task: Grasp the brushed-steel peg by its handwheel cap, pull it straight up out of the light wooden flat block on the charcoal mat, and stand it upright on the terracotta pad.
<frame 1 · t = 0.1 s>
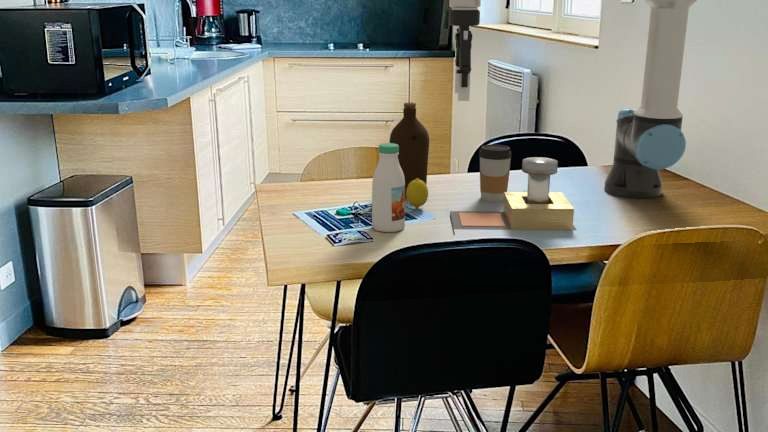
hand: (461, 96, 189), 28 cm above the table, fingers open, 13 cm apart
coffee cup: (493, 204, 197), on the table
milk bottle: (388, 228, 178), on the table
steel peg: (536, 220, 179), point 1 cm above the table, touching base mat
light wooden flat block: (536, 226, 179), resting on base mat
lemon: (416, 209, 193), on the table
base mat: (510, 226, 179), on the table
olive oil: (408, 195, 206), on the table
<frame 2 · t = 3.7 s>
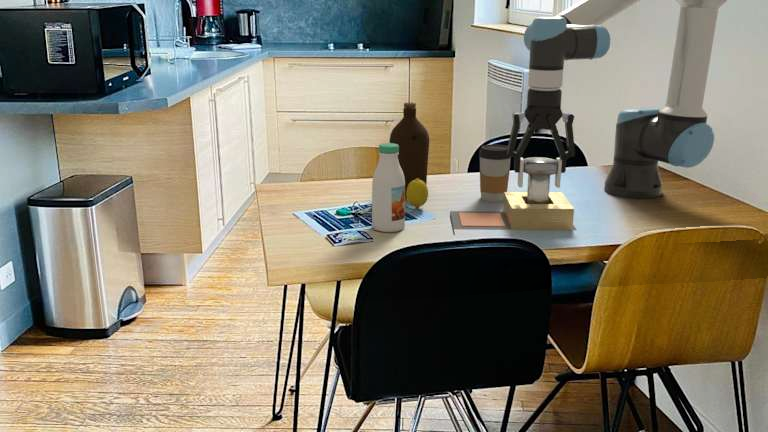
hand: (538, 185, 176), 10 cm above the table, fingers closed on steel peg, 8 cm apart
steel peg: (536, 220, 179), point 1 cm above the table, touching base mat, gripper
everything else where it was.
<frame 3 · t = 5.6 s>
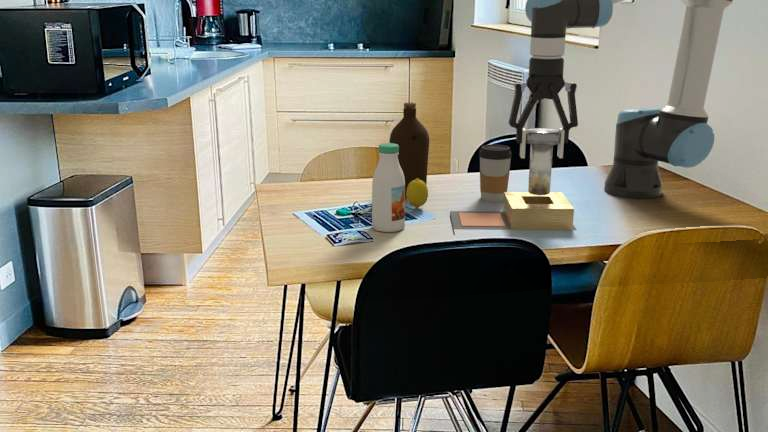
hand: (541, 156, 174), 17 cm above the table, fingers closed on steel peg, 8 cm apart
steel peg: (539, 192, 177), point 8 cm above the table, touching gripper
everything else where it was.
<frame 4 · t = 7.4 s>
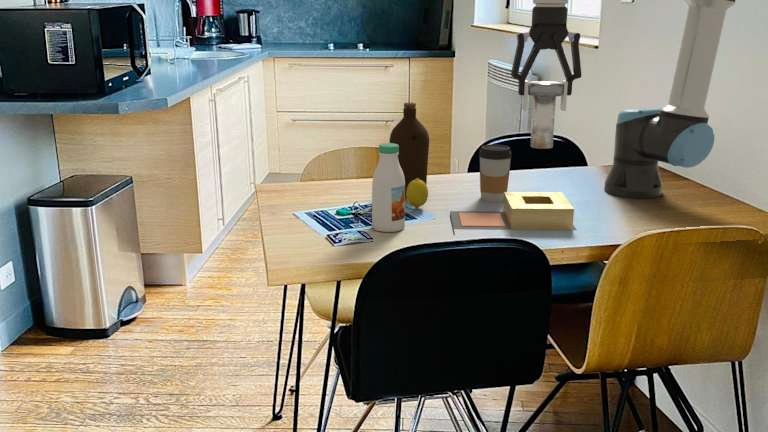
hand: (543, 109, 171), 28 cm above the table, fingers closed on steel peg, 8 cm apart
steel peg: (541, 146, 173), point 19 cm above the table, touching gripper
everything else where it was.
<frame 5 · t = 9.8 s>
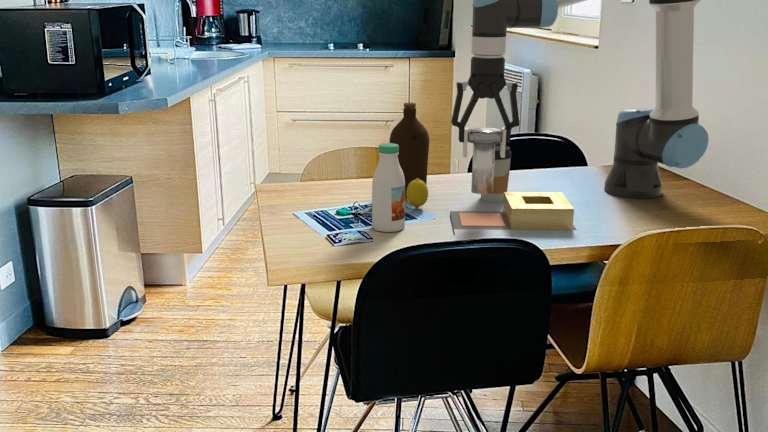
hand: (483, 156, 174), 17 cm above the table, fingers closed on steel peg, 8 cm apart
steel peg: (482, 191, 177), point 9 cm above the table, touching gripper
everything else where it was.
when the fingers open (11 cm above the table, at t = 11.5 s): steel peg drops 1 cm, resting on base mat.
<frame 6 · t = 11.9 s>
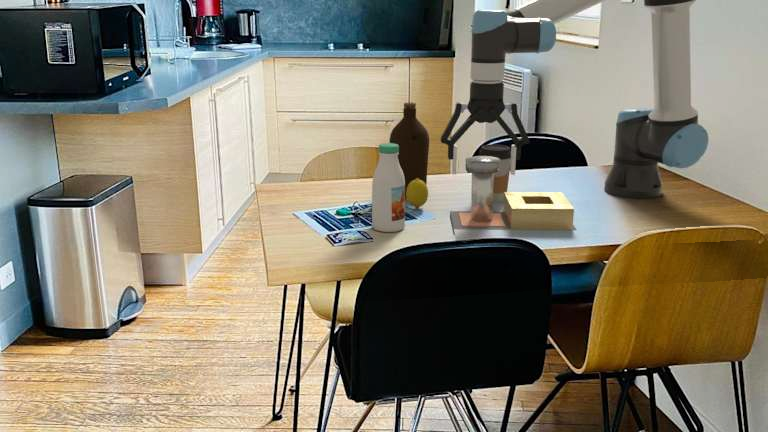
hand: (483, 173, 176), 13 cm above the table, fingers open, 13 cm apart
steel peg: (481, 219, 179), point 2 cm above the table, touching base mat
everything else where it was.
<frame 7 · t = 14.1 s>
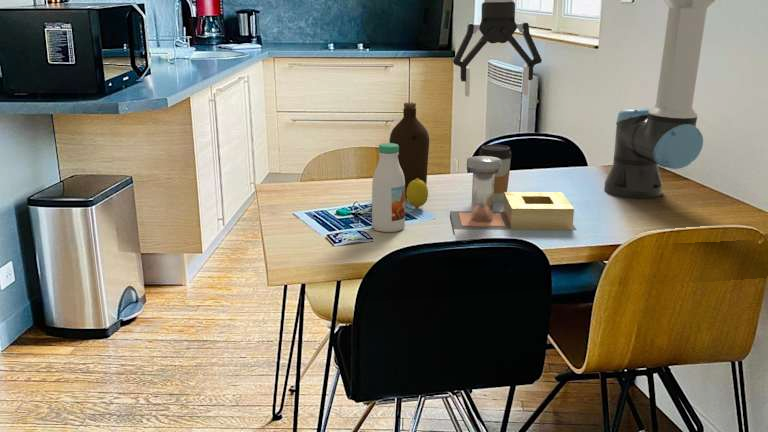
hand: (496, 95, 177), 30 cm above the table, fingers open, 13 cm apart
nothing on the table moved.
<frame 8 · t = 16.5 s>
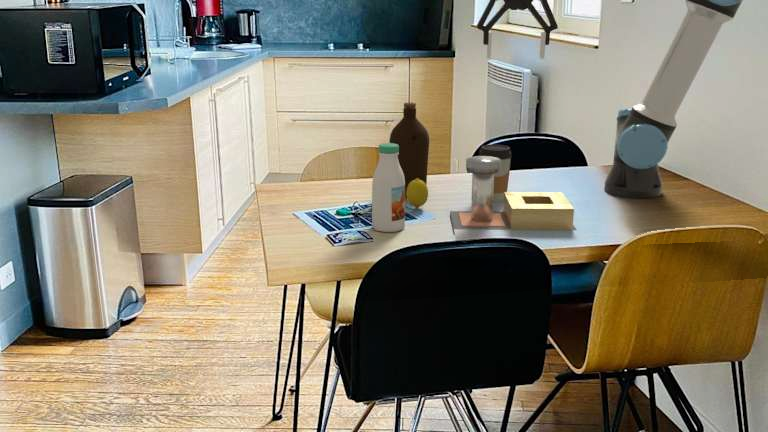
hand: (515, 58, 194), 37 cm above the table, fingers open, 13 cm apart
nothing on the table moved.
at the end: steel peg inside the target area (0.0 cm from its centre), point 1.7 cm above the table; steel peg tilted 1°; the gripper is holding nothing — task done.
